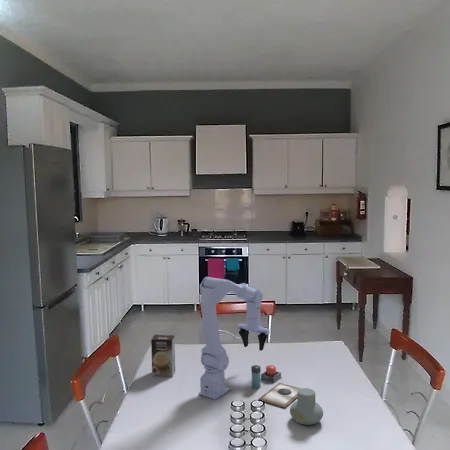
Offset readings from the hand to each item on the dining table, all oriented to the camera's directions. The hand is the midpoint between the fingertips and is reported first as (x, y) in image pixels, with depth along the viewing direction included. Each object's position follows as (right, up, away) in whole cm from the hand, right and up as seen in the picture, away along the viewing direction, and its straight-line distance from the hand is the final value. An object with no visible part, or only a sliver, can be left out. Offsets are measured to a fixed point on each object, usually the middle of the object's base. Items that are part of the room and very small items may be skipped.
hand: (253, 348), depth 187 cm
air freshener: (+15, -13, -40) cm, 45 cm away
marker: (0, -11, -15) cm, 18 cm away
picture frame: (+9, -12, -22) cm, 27 cm away
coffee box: (-38, -11, -1) cm, 40 cm away
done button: (+7, -9, -7) cm, 13 cm away
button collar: (+7, -10, -7) cm, 14 cm away
